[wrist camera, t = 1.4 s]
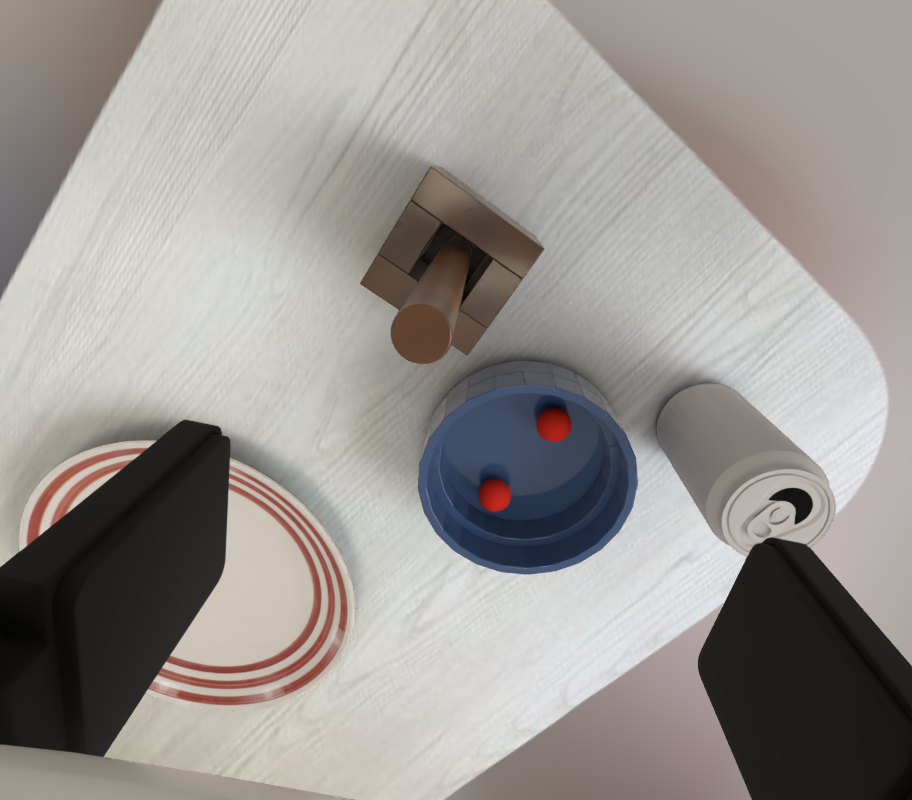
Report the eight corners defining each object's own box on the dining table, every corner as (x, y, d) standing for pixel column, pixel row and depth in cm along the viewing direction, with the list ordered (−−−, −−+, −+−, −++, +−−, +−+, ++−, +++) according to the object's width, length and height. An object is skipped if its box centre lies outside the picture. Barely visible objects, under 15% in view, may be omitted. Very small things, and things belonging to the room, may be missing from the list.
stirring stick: (477, 248, 36) (464, 327, 18) (460, 273, 37) (430, 376, 18) (452, 230, 36) (411, 291, 17) (435, 256, 36) (378, 342, 18)
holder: (536, 237, 36) (545, 248, 30) (470, 329, 38) (467, 355, 33) (440, 166, 34) (430, 165, 29) (379, 267, 37) (359, 283, 31)
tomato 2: (576, 414, 39) (581, 428, 37) (555, 438, 40) (558, 454, 38) (548, 395, 39) (552, 409, 37) (528, 421, 40) (530, 435, 37)
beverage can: (764, 419, 39) (872, 515, 28) (692, 476, 41) (766, 587, 30) (706, 361, 38) (794, 439, 27) (634, 423, 40) (689, 519, 29)
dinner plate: (257, 728, 55) (244, 761, 51) (-4, 578, 49) (-37, 606, 46) (428, 557, 46) (424, 585, 43) (132, 351, 40) (102, 366, 37)
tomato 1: (516, 483, 42) (518, 501, 39) (498, 505, 42) (498, 523, 40) (490, 467, 41) (490, 483, 39) (472, 489, 42) (471, 507, 40)
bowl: (660, 428, 40) (684, 465, 35) (539, 557, 45) (546, 606, 40) (500, 317, 38) (501, 340, 33) (391, 466, 43) (378, 506, 37)
